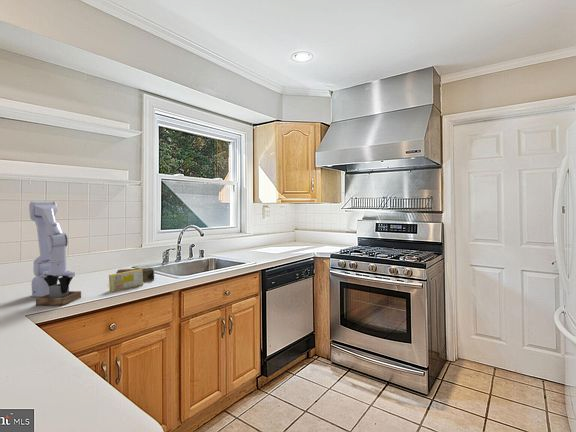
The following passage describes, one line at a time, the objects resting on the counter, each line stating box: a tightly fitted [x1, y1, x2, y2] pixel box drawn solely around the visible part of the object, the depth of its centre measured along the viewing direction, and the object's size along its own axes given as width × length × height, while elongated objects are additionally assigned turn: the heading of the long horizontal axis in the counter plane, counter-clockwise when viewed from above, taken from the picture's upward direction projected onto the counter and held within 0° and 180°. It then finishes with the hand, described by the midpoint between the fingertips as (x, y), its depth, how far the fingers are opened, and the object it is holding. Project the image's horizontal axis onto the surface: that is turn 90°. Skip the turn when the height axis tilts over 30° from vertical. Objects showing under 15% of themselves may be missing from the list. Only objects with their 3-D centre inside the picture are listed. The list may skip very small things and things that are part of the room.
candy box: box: [108, 268, 144, 292], centre depth 165 cm, size 16×2×8 cm, turn 141°
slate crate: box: [49, 283, 70, 298], centre depth 142 cm, size 5×5×5 cm
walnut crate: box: [35, 290, 82, 307], centre depth 142 cm, size 12×12×3 cm
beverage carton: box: [115, 267, 155, 282], centre depth 180 cm, size 8×19×7 cm, turn 111°
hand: (59, 292), depth 142 cm, fingers closed on slate crate, 5 cm apart
